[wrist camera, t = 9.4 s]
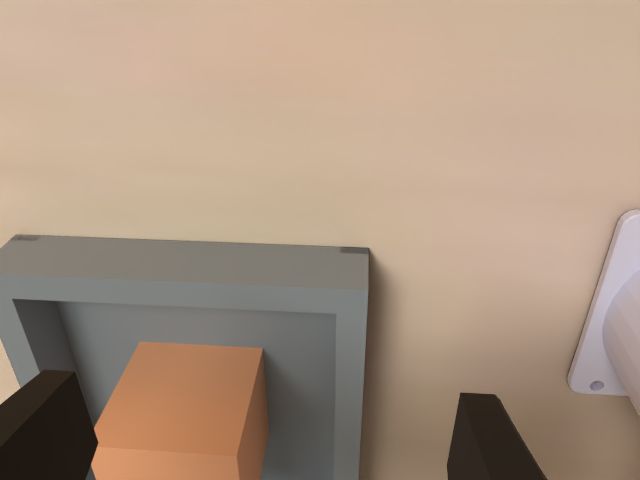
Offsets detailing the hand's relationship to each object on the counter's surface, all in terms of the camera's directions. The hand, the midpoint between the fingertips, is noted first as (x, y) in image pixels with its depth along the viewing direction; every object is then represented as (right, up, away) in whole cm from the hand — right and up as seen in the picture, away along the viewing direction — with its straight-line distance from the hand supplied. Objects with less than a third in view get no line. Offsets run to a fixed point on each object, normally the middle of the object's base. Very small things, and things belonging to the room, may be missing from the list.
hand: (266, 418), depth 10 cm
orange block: (-4, -3, +13) cm, 14 cm away
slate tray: (-4, -3, +13) cm, 14 cm away
